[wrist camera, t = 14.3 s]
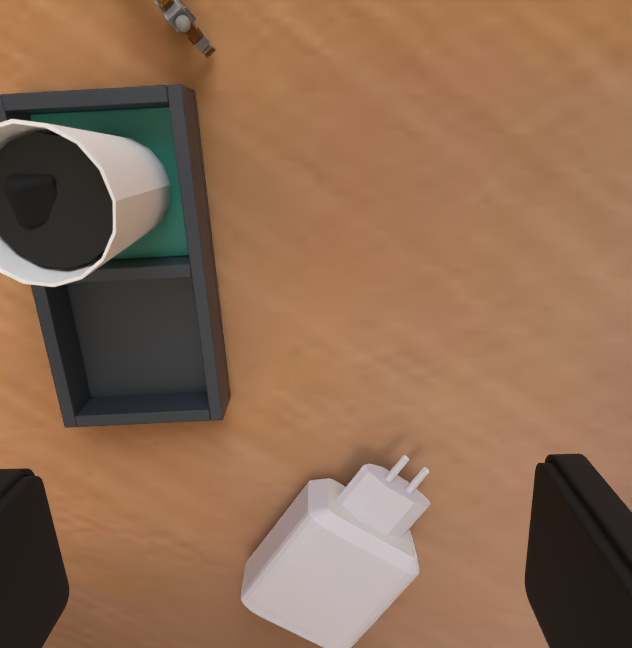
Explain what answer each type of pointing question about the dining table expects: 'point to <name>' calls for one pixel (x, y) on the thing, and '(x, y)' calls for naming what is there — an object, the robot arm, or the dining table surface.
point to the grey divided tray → (138, 277)
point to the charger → (338, 556)
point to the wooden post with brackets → (185, 24)
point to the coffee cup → (73, 200)
